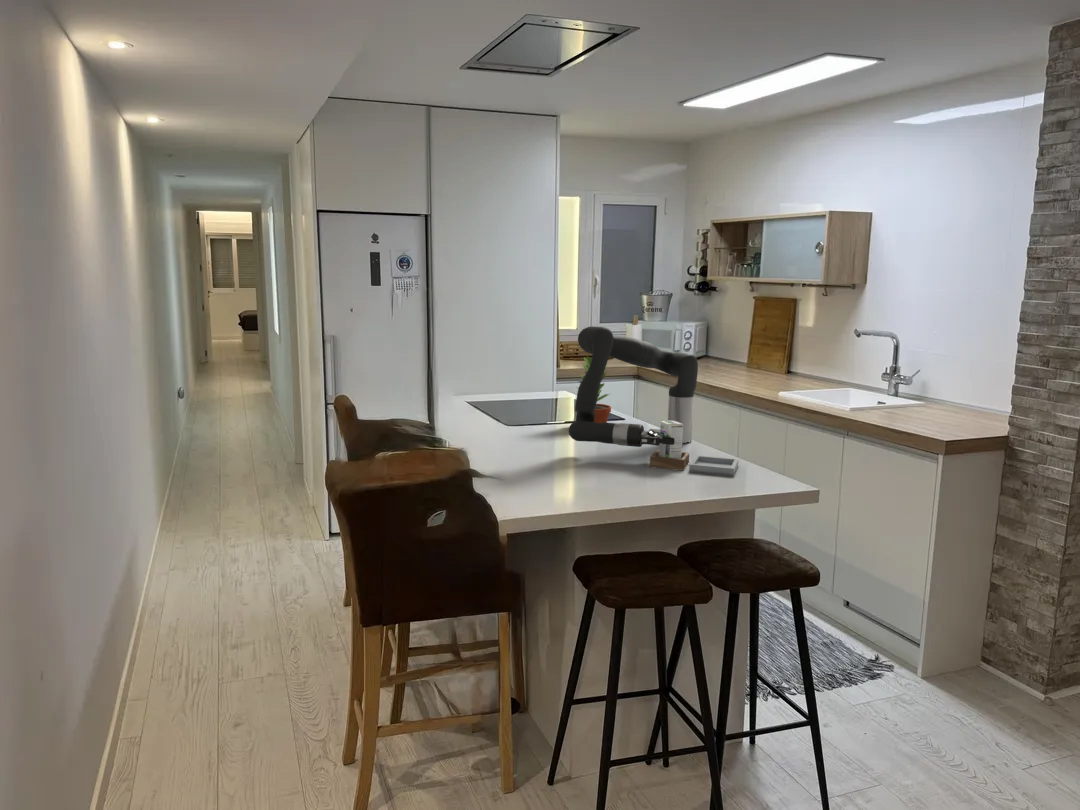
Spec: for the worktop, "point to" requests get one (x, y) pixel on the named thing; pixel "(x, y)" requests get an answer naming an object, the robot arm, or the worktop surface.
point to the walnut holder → (669, 461)
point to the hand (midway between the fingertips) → (676, 438)
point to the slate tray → (714, 465)
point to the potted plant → (601, 409)
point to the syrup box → (673, 431)
